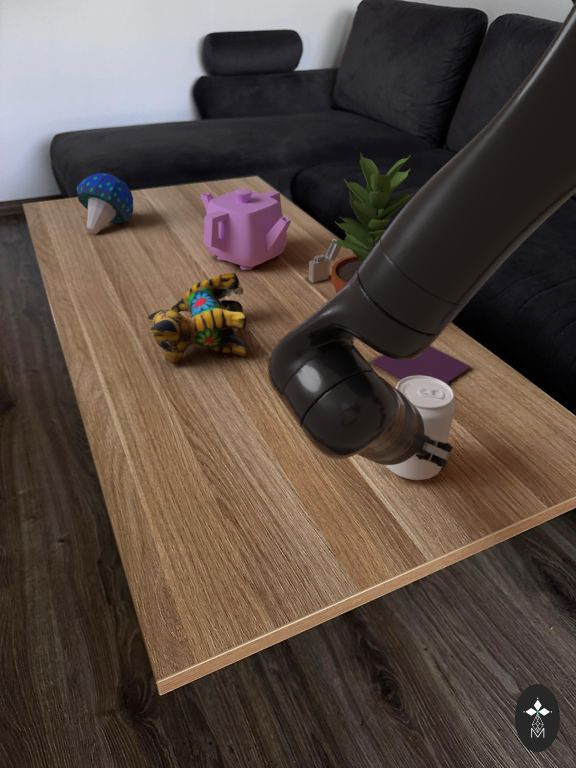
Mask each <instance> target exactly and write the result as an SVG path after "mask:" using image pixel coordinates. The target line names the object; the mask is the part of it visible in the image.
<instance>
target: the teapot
mask: <svg viewBox="0 0 576 768" xmlns="http://www.w3.org/2000/svg"><path fill="white" fill-rule="evenodd" d="M200 197H201V201H202V203H203V206H204V209H205V212H206V214H205V215H204V219H203V220H204V222H203V223H204V224H203V227H204V228H203V244H205V246H206V248H207V250H208V252H210V254H212V255H214V256H216V259H217V260H218V261H226V262H229V263H232V264H236V265H239V269H241V270H242V271H243V270H244V271H250V270H253V269H254V267H255V266H258V265H261V264H263V263H265V262H267V261H270V260H272V259H275V258H276V257H277V256H279V255H281V254H282V253H283V252H284V251H285V248H286V246H287V242H288V235H287V231H288V230H289V227H290V225H291V222H292V219H290V218H288V216H284V215H283V210H282V209H283V208H282V202H281V192H280V191H276V190H273V189H271V190H269V191H266V192H264V193H259V192H254V191H252V190H251V189H248V188H239V189H236V190H233V191H230V192H228V193H224V194H222V195H219V196H216V197H214V196H213V195H212V193H211V192H210V193H209V192H203V193H201V194H200Z"/></svg>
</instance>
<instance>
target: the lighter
mask: <svg viewBox="0 0 576 768" xmlns="http://www.w3.org/2000/svg"><path fill="white" fill-rule="evenodd" d="M338 240H339V239H336V238H333V239H332V240H331V241H332V242H330V245H329V247H328V250H327V252H326V254H325V255H324V254H322V253H321V254H318V255H314V258H313V259H312V260H309V262H308V281H309V282H310V283H311V284H314V283H318V282H322V281H325V280H329V278H330V263H331V262H330V261H333V262H335V261H336V259H337V257H338V256H339V255H338V254H339V252H340V250H341V248H342V246H339V245H337V244H335V243H333V242H336V241H338Z"/></svg>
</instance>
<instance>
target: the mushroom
mask: <svg viewBox="0 0 576 768" xmlns="http://www.w3.org/2000/svg"><path fill="white" fill-rule="evenodd" d="M76 193H77V199H78V202H79V204H81V205H82V206H83V207H84V208H85V210H87V220H86V231H88V233H90V234H93V235H97V234H98V233H99V232H100V231H101V230H102V229H104V227H105V226H106V225H107V224H109V223H115V224H124V223H127V222H128V221H129V220H131V219H133V214H134V197H133V193H132V191H131V190H130V188H129V187H128V185H127V184H126V182H125V181H123V180H122V179H120V178H119V177H117V176H115V175H113V174H110V173H105V172H98V173H97V172H96V173H94V174H91V175H89V176H87V177H85V178H84V179H83V180H81V181H80V183H79V184H78V185H77V187H76Z"/></svg>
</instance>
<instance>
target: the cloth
mask: <svg viewBox="0 0 576 768" xmlns="http://www.w3.org/2000/svg"><path fill="white" fill-rule="evenodd" d="M372 364H373V365H374V366H377V367H378V368H380V369H382V370H384V371H385V372H387V373H389V374H390V375H393V376H394V377H396V378H398V379H399V380H402V379H403V378H406V377H409V376H417V375H420V376H429V377H433V378H436V379H439V380H441V381H443V382H444V383H446V384H447V385H449V384H451V383H452V382H453V381H455V380H457V379H458V378H459V377H461V376H462V375H464V374H466V372H468V371H469V370H471V366H470V365H468V364H466V363H464V362H462V361H460V360H458V359H456V358H455V357H452V356H450V355H448V354H446V353H444V352H443V351H440V350H438V349H437V348H435V347H433V346H431V345H430V346H429V347H428V348H427V349H426V350H425V351H424V352H423V353H422V354H420V355H419V356H417V357H415V358H413V359H409V360H396V359H392V358H389V357H387V356H384V355H381V356H380V357H378V358H376V359H374V360H372Z"/></svg>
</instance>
